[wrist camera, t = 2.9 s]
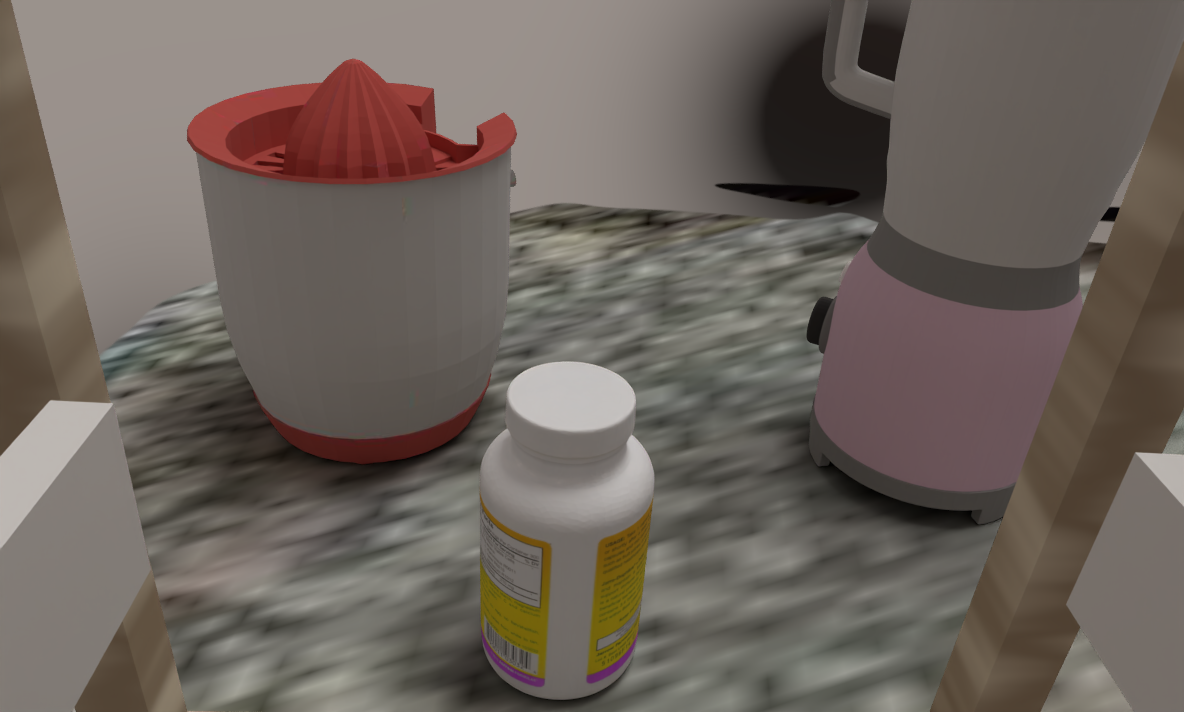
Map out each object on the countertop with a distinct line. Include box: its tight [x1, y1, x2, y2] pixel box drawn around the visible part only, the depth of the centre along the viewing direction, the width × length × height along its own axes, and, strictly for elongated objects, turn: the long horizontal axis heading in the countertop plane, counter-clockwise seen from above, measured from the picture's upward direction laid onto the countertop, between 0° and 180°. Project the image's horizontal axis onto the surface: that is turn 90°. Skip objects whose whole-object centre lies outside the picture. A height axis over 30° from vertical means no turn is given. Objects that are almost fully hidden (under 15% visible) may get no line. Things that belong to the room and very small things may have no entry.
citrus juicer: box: [187, 59, 517, 464], centre depth 49 cm, size 16×17×20 cm
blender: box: [807, 0, 1184, 524], centre depth 45 cm, size 16×12×32 cm
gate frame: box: [0, 0, 1184, 712], centre depth 24 cm, size 30×9×32 cm, turn 92°
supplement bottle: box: [480, 362, 654, 700], centre depth 36 cm, size 7×7×13 cm
